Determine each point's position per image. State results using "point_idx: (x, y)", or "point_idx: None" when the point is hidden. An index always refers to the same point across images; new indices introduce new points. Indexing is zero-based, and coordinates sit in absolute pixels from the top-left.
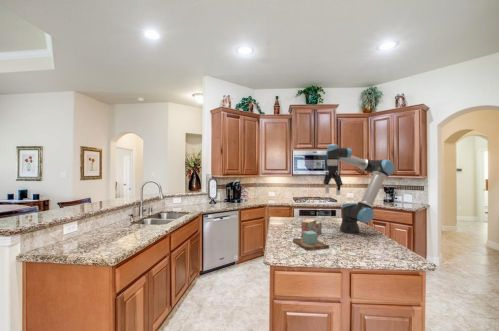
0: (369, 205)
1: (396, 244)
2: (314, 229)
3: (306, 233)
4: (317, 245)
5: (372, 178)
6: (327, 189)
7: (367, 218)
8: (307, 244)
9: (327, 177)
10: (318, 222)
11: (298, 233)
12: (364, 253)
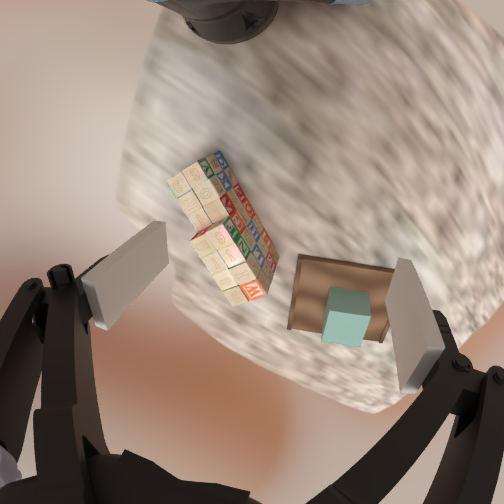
0: None
1: (470, 11)
2: (248, 226)
3: (348, 344)
4: (381, 303)
5: None
6: (141, 265)
7: None
8: None
9: (11, 386)
10: (205, 184)
11: None
12: (494, 209)
